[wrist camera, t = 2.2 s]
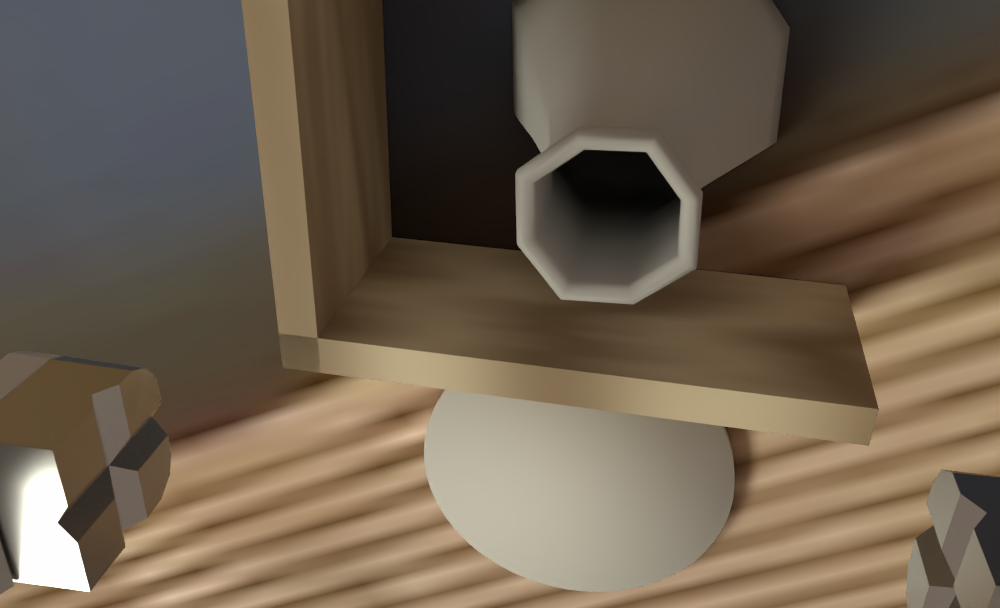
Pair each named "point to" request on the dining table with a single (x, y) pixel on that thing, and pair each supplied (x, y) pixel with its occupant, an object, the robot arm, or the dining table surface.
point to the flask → (635, 131)
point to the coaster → (578, 488)
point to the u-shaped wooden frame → (505, 275)
